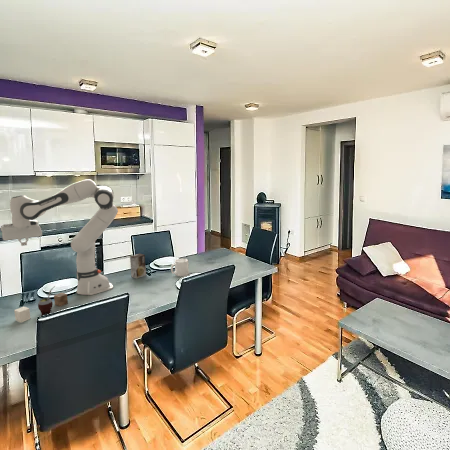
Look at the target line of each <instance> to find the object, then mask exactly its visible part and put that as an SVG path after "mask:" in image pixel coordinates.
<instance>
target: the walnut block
mask: <svg viewBox="0 0 450 450" xmlns="http://www.w3.org/2000/svg"><path fill="white" fill-rule="evenodd" d="M53 299H54V306H57V307H62V306H65V305H67V304H69V301H68V294H67V293H64V292H60V293H59V292H58V293H57V294H53Z"/></svg>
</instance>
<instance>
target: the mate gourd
mask: <svg viewBox="0 0 450 450" xmlns="http://www.w3.org/2000/svg"><path fill="white" fill-rule="evenodd" d="M55 287H56V286H55V285H54V286H53V287H52V288H51V289H50V290H49V293H48V296H47V297H46V298H42V299H40V300H39V301H38V303H37V306H38V307H37V308H38V310H39V311H40V314H41V315H40V316H41V317H42V315H43V316H45V315H50V314H49V313H51V312H52V309H53V300H52V299H51V298H50V296H51V293H52V290H53V289H54V288H55Z"/></svg>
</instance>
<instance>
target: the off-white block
mask: <svg viewBox="0 0 450 450" xmlns="http://www.w3.org/2000/svg"><path fill="white" fill-rule="evenodd" d="M14 317H15V321H16V322H18V323H24V322H26V321H28V320H31V311H30V307H27V306H22V307H19V308H15V309H14Z"/></svg>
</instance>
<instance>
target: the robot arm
mask: <svg viewBox="0 0 450 450" xmlns="http://www.w3.org/2000/svg"><path fill="white" fill-rule="evenodd" d="M114 197H115V195H114V190H113V189H112V187H110V186H109V185H105V184H103V185H102V184H96V182H95V181H94V180H92V179H89V178H88V179H83V180H80V181H77V182H74V183H71V184H70V185H67V186H66V187H64V188H63V189H61V190H60V191H58V192H57V193H55V194H53V195H51V196H49V197H47V198H44V199H42V200H37V199H33V198H30V197H27V195H25V194H24V195H23V194H22V195H16V196H12V197H11V198H10V199H9V208H10V213H11V223H9V224H8V223H6V224H2V225H1V226H0V232H1V234H2V236H1V237H2V240H3V241H13V240H18V242H19V243H20V246H21V247H23V246H28V241H29V238H36V237H37V238H39V237H42V236H43V231H42V228H41V226H40V225H39V221H38V220H36V219H38V218H39V217H41V216H43V215H44V214H45V213H46V212H47V211H48V210H51V209H53V208H56V207H59V206H63V205H64V206H65V205H68V204H74V203H78V202H81V201H83V200H86V199H89V198H93V199H94V201H95V203H96V204H97V205H98V207H99V209H97V211H96V212H95V213H94V215H93V216H92V217H91V218H90V219H89V221H88V222H87V223H86V224H85V225H84V226H83V227H82V228H81V229H80V230H79V231H78V232H77V234H75V236H73V238H72V240H71V242H70V247H71V249H72V251H74V252H76V259H75V261H76V279H77V285H76V286H77V288H76V294H78V295H86V296H87V295H88V296H93V295H97V294H100V293H103V292H106V291H109V290H112V289H114V285H113V283H112V282H110V281H109V278H108V277H107V276H105V275H103V274H101V273H102V270H101V269H98V268H97V267H96V258H95V257H96V255H95V254H96V241H97V239H99V237H100V236H101V235H102V234H103V233H104V231H106V230H107V228H108V227H109V226H110V225H111V223H112V222H114V219H116V217H117V215H118V212H119V209H118V207H117V206H116V205H115V204H114V203H113V202H114ZM23 239H25V241H24V242H22V240H23Z"/></svg>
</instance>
